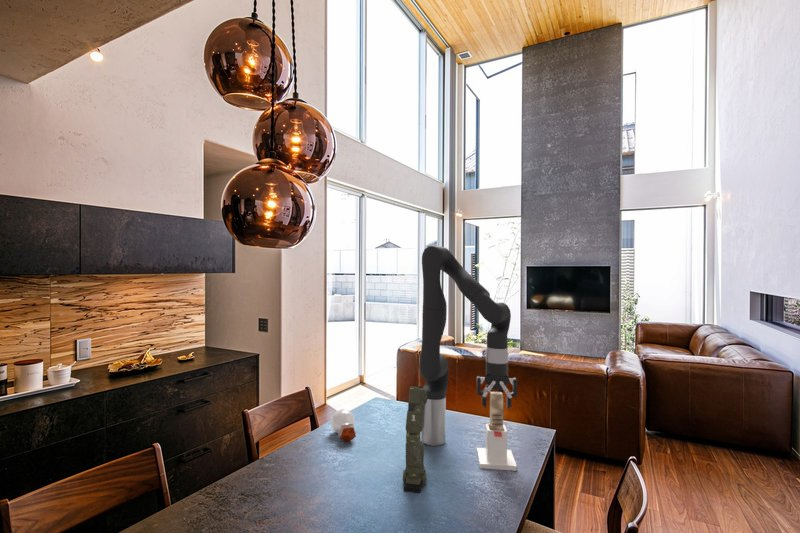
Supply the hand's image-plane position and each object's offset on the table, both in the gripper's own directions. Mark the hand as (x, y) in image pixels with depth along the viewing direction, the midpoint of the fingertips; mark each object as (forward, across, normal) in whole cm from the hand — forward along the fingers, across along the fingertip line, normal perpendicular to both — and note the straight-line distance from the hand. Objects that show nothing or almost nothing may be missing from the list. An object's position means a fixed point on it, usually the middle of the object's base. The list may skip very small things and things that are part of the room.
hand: (496, 407), depth 137 cm
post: (+17, 0, 0) cm, 17 cm away
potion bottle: (+19, -57, +13) cm, 61 cm away
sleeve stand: (+18, 0, 0) cm, 18 cm away
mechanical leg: (+19, -27, -17) cm, 37 cm away
